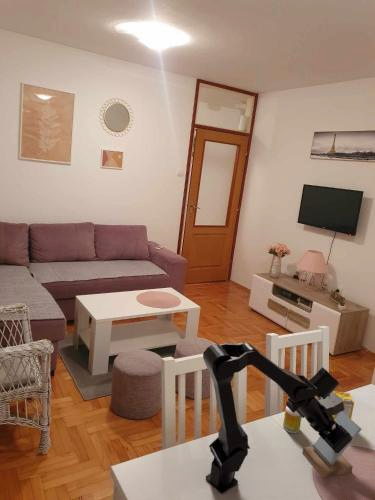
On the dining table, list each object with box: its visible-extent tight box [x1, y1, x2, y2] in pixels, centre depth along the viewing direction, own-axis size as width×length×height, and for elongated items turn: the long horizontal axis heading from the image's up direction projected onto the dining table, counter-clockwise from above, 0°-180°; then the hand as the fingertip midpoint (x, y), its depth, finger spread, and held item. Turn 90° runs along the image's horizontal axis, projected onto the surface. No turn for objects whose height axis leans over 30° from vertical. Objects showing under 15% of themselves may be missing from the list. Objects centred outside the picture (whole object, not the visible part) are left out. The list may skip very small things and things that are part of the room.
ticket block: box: [302, 445, 353, 479], centre depth 117 cm, size 10×10×2 cm
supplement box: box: [332, 390, 355, 420], centre depth 135 cm, size 6×6×11 cm
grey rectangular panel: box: [311, 411, 363, 467], centre depth 116 cm, size 1×8×14 cm
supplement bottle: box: [282, 406, 303, 434], centre depth 131 cm, size 5×5×10 cm
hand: (334, 438), depth 116 cm, fingers closed, pressing on grey rectangular panel
